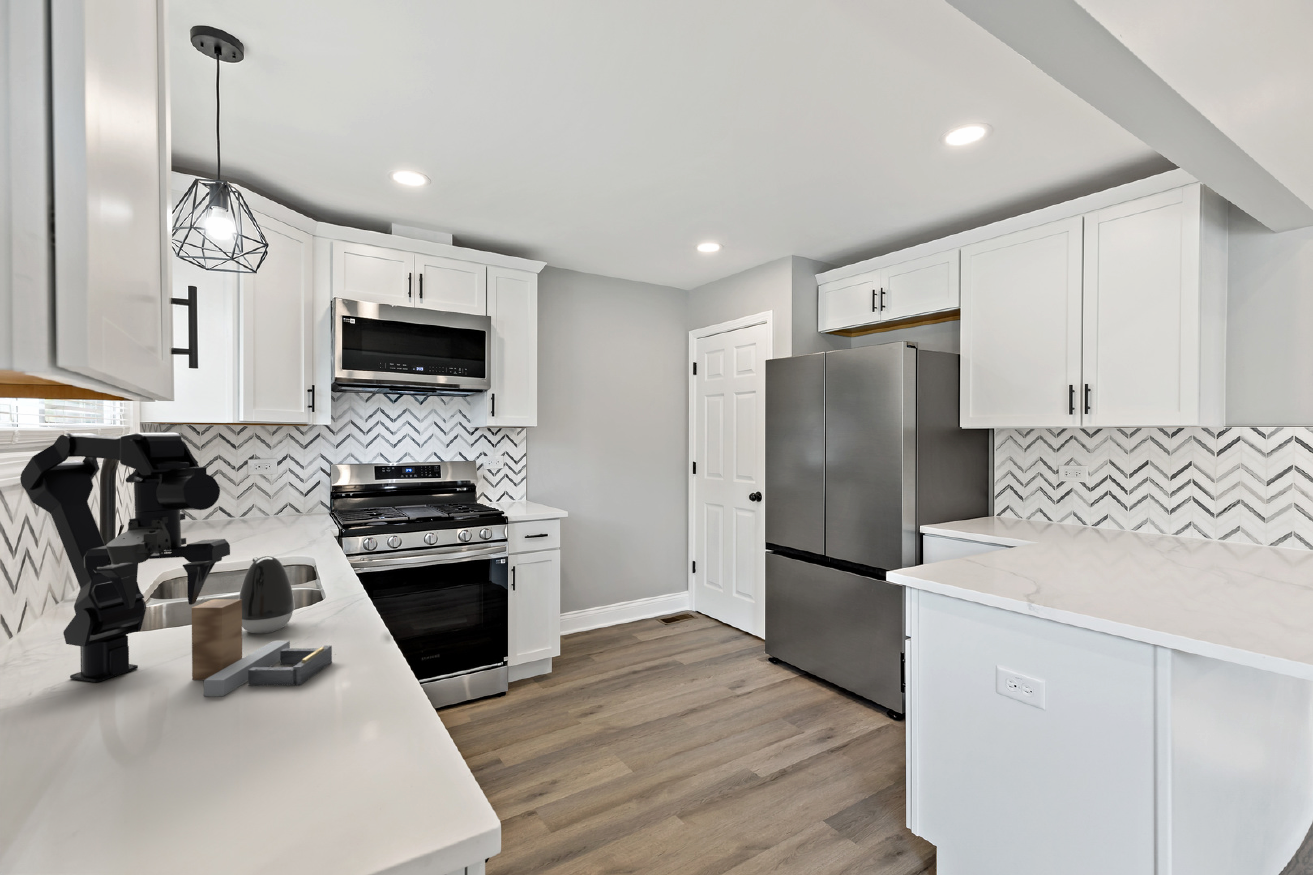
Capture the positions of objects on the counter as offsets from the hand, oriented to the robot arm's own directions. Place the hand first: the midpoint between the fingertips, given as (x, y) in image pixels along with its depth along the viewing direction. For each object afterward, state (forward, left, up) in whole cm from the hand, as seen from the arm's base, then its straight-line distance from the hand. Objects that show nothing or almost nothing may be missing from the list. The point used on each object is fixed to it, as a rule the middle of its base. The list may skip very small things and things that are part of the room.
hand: (161, 605), depth 101 cm
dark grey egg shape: (-8, +27, -13) cm, 31 cm away
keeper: (+16, +9, -13) cm, 22 cm away
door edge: (+10, +8, -13) cm, 18 cm away
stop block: (+4, +6, -13) cm, 15 cm away
